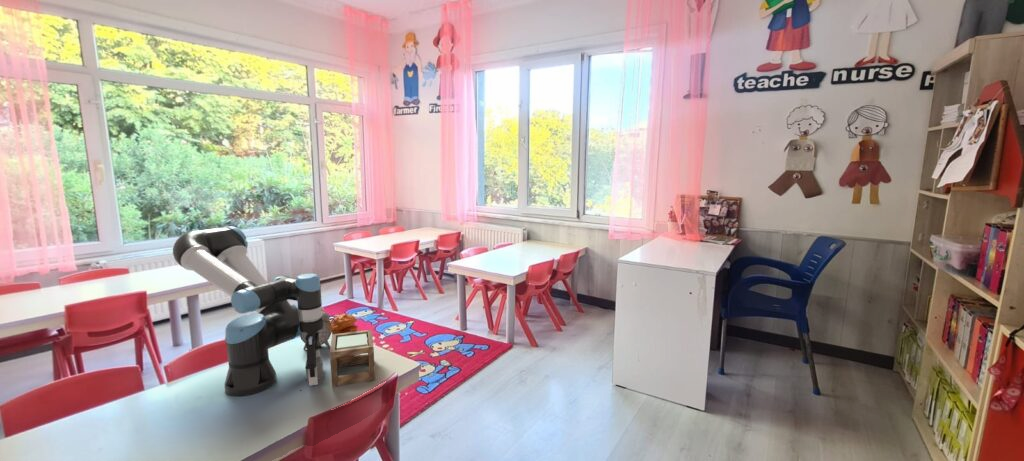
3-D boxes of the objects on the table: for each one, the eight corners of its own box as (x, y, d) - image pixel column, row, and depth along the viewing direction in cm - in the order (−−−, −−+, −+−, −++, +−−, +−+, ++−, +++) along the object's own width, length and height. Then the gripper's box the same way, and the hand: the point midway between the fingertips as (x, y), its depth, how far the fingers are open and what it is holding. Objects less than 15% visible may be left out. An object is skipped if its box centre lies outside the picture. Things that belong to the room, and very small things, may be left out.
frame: (331, 387, 145) (329, 352, 143) (334, 365, 160) (331, 334, 158) (375, 380, 150) (373, 346, 148) (373, 360, 165) (371, 329, 163)
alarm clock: (300, 351, 171) (297, 316, 169) (304, 344, 178) (301, 310, 175) (331, 348, 174) (329, 313, 172) (334, 342, 181) (332, 308, 178)
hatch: (336, 350, 148) (336, 348, 147) (337, 339, 157) (337, 336, 157) (367, 346, 151) (367, 344, 151) (367, 335, 161) (366, 333, 161)
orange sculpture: (354, 363, 162) (351, 318, 159) (325, 362, 162) (322, 317, 159) (364, 350, 173) (362, 307, 170) (338, 349, 173) (335, 307, 170)
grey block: (306, 380, 149) (305, 364, 148) (308, 374, 154) (306, 358, 153) (322, 378, 151) (321, 362, 150) (323, 372, 155) (322, 356, 154)
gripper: (320, 330, 138) (324, 390, 142) (324, 305, 162) (328, 358, 165) (294, 333, 136) (299, 395, 139) (303, 308, 159) (307, 361, 162)
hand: (315, 375), depth 152 cm, fingers open, 13 cm apart
